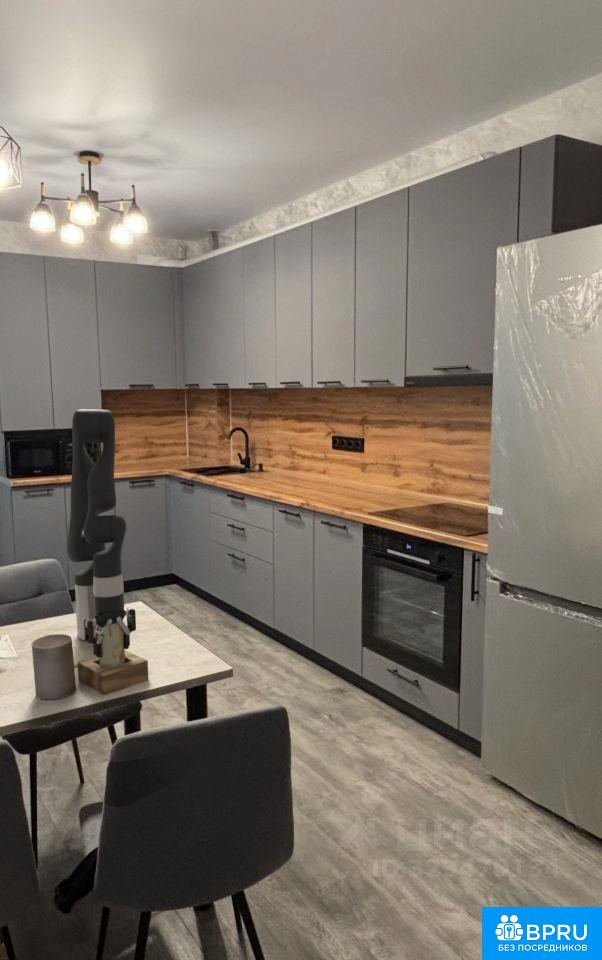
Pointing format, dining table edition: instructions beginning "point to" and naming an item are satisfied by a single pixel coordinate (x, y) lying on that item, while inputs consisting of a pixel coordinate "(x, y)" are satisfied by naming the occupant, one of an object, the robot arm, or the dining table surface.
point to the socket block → (112, 673)
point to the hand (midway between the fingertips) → (112, 652)
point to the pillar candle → (53, 666)
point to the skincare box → (112, 646)
